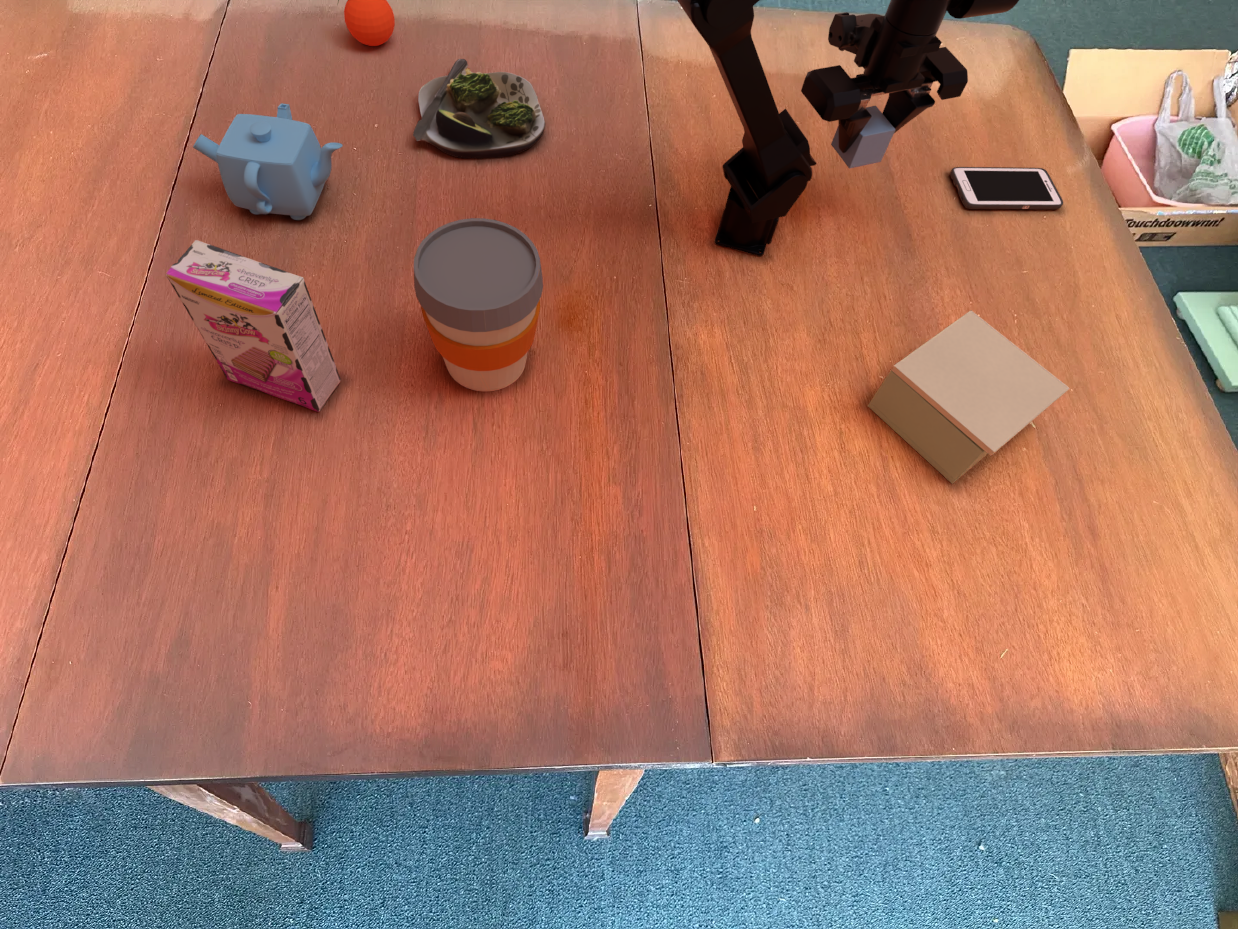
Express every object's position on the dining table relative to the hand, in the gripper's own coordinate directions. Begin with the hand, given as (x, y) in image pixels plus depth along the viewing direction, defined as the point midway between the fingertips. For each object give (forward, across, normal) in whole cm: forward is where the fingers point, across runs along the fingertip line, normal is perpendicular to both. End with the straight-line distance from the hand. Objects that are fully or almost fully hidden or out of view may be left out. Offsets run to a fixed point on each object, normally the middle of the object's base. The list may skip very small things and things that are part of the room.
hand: (859, 146), depth 95 cm
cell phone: (+11, -27, +3) cm, 30 cm away
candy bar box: (+11, +72, +6) cm, 73 cm away
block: (+1, 0, 0) cm, 1 cm away
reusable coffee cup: (+11, +50, +9) cm, 52 cm away
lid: (+4, +3, +33) cm, 33 cm away
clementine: (+11, +50, -52) cm, 72 cm away
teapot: (+11, +66, -23) cm, 71 cm away
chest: (+11, +3, +32) cm, 34 cm away
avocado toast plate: (+11, +39, -30) cm, 51 cm away
